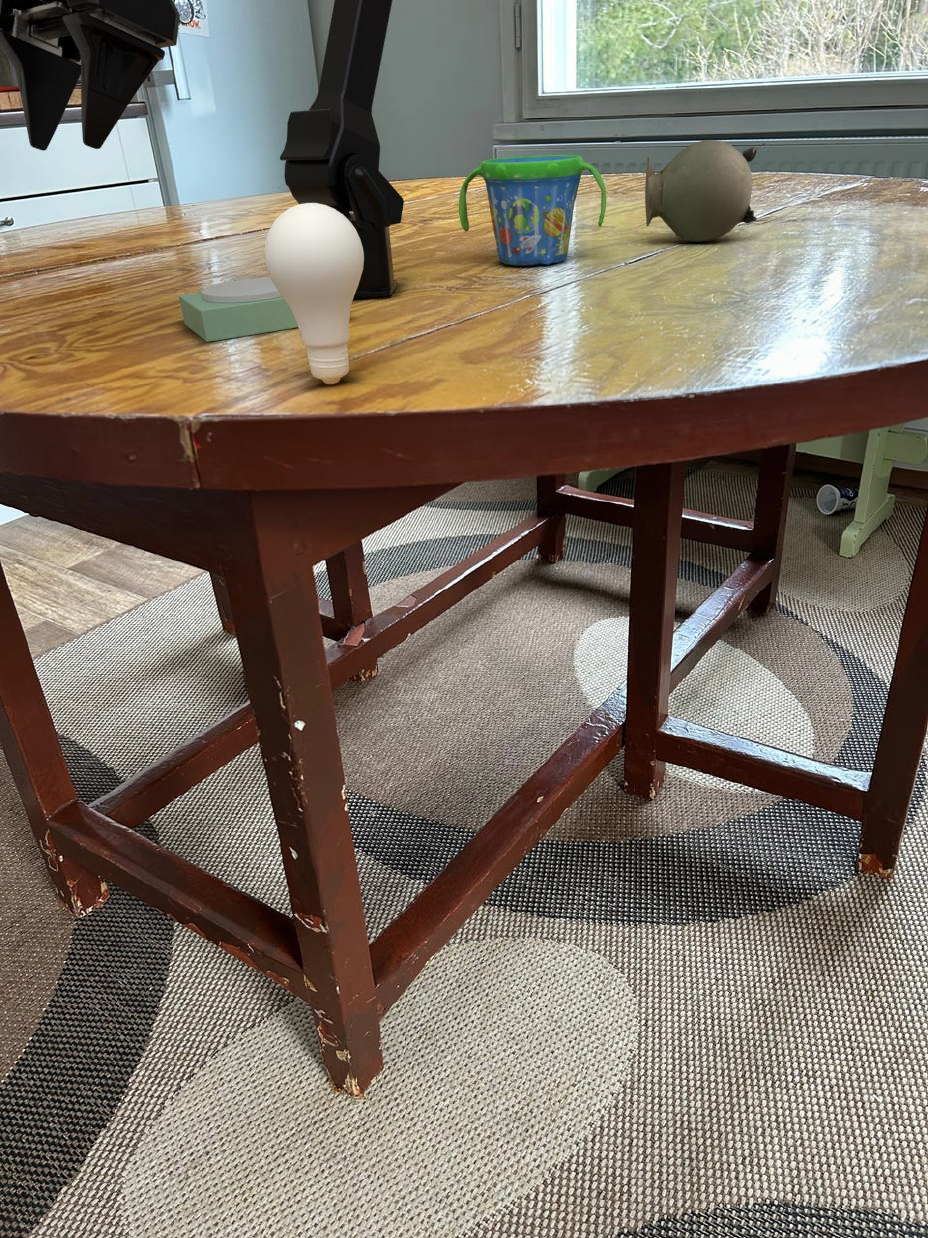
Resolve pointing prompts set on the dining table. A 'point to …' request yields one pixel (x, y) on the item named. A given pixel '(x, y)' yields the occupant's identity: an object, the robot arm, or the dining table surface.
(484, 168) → the snack cup
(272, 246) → the lightbulb
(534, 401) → the dining table surface
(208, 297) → the scale
